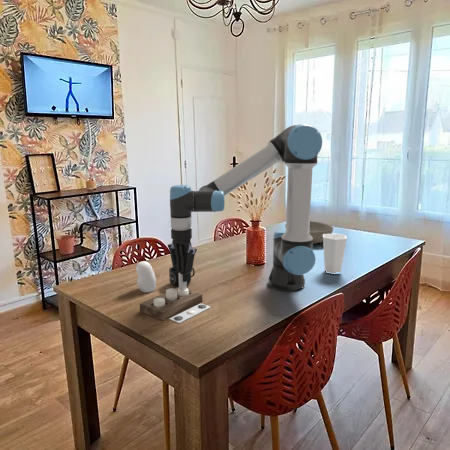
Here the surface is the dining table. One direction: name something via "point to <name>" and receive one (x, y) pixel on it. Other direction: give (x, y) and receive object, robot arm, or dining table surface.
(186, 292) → the button right
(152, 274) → the figurine
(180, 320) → the card
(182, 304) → the board
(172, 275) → the mug
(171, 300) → the button middle
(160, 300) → the button left
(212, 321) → the dining table surface
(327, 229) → the bowl
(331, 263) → the cup
